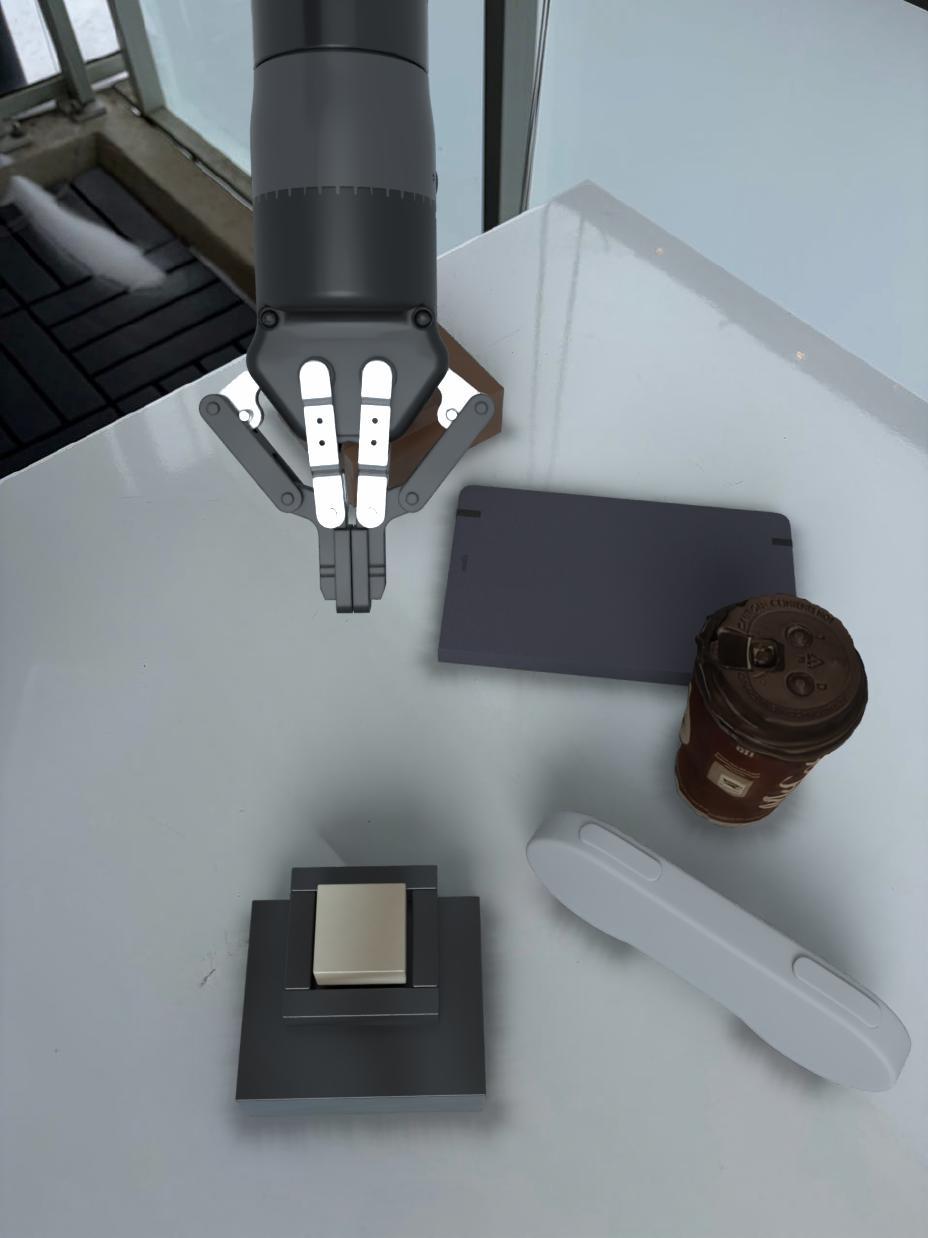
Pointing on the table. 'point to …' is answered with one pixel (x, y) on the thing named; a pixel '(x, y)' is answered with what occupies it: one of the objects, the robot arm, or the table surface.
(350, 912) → the ivory key
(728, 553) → the notebook
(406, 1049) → the key block
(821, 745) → the coffee cup
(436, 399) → the key block
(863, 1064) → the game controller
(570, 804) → the table surface
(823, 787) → the table surface
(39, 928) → the table surface
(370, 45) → the robot arm
